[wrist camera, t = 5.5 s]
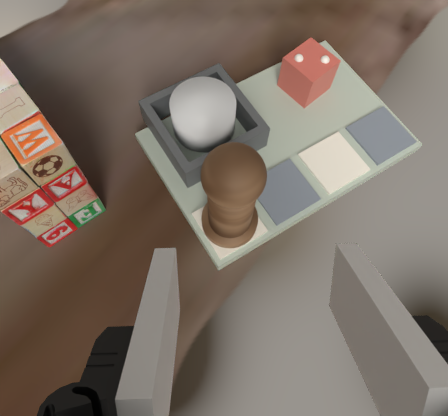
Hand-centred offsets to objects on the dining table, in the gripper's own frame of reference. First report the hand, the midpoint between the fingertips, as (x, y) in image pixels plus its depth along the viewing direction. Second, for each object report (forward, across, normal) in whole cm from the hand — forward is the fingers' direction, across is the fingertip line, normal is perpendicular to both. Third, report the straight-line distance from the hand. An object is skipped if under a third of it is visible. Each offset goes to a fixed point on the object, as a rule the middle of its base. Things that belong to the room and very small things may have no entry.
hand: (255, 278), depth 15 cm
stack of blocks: (+28, -20, -2) cm, 34 cm away
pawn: (+20, 0, -7) cm, 21 cm away
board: (+27, +5, -2) cm, 28 cm away
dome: (+26, -2, +1) cm, 26 cm away
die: (+31, +9, +4) cm, 32 cm away
